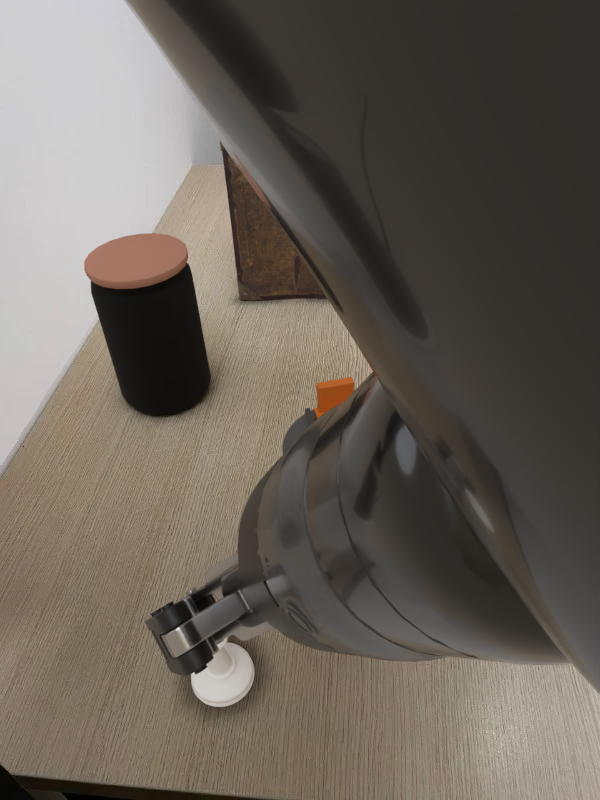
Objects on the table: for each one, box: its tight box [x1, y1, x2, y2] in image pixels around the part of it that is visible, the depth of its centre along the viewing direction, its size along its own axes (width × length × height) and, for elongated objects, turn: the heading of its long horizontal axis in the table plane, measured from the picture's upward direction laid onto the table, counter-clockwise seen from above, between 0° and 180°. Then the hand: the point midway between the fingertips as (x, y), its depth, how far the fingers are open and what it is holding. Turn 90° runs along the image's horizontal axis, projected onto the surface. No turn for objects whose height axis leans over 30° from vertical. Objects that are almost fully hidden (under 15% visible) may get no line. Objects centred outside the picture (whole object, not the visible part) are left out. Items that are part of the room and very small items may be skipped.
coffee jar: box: [83, 232, 212, 417], centre depth 72 cm, size 11×11×18 cm
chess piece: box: [190, 637, 256, 708], centre depth 46 cm, size 5×5×10 cm
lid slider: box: [313, 376, 355, 419], centre depth 52 cm, size 4×4×3 cm
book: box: [219, 141, 328, 301], centre depth 86 cm, size 17×7×25 cm, turn 81°
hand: (272, 569), depth 35 cm, fingers open, 8 cm apart
